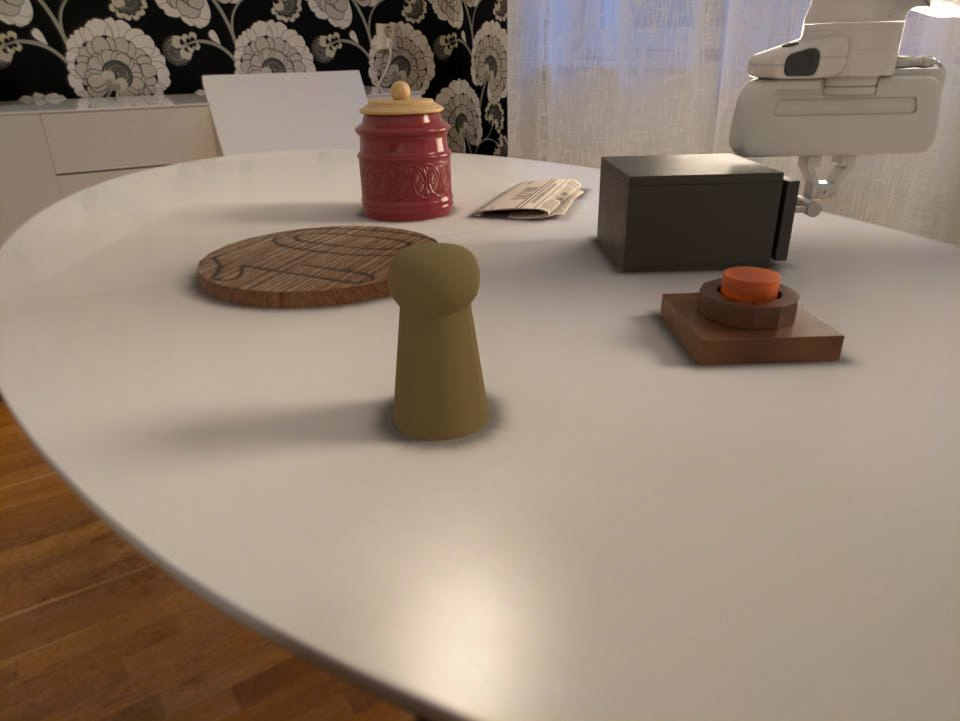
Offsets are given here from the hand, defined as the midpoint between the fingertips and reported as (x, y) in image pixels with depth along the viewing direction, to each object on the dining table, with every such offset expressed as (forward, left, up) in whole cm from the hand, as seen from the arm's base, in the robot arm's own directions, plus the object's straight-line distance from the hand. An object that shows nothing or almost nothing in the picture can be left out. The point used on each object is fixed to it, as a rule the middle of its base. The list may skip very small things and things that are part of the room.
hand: (819, 198), depth 72 cm
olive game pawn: (+40, +35, -6) cm, 53 cm away
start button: (+17, +24, -2) cm, 29 cm away
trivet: (+53, +2, -6) cm, 53 cm away
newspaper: (+27, -29, -6) cm, 40 cm away
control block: (+17, +24, -6) cm, 30 cm away
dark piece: (+10, 0, -5) cm, 11 cm away
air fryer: (+15, 0, -6) cm, 16 cm away
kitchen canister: (+46, -25, -6) cm, 53 cm away
